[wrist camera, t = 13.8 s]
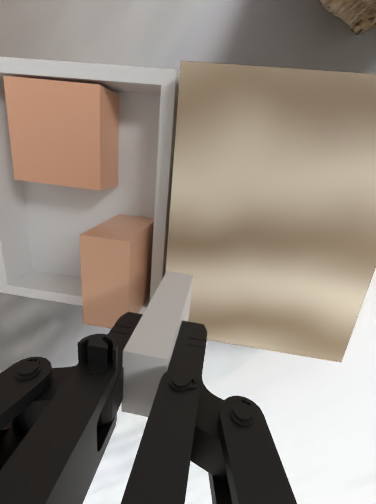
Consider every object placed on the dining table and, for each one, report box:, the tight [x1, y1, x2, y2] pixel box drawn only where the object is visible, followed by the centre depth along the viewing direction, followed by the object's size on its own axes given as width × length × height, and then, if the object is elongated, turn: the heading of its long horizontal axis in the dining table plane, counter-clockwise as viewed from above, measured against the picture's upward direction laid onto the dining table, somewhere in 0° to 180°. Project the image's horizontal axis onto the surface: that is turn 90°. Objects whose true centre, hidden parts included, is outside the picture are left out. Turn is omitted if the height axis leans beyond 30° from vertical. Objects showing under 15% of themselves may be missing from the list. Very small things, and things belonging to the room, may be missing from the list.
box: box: [0, 57, 180, 314], centre depth 20 cm, size 16×13×4 cm
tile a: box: [3, 76, 119, 191], centre depth 18 cm, size 6×6×3 cm
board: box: [165, 61, 376, 362], centre depth 18 cm, size 16×12×5 cm
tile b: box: [79, 214, 154, 328], centre depth 19 cm, size 6×6×3 cm
